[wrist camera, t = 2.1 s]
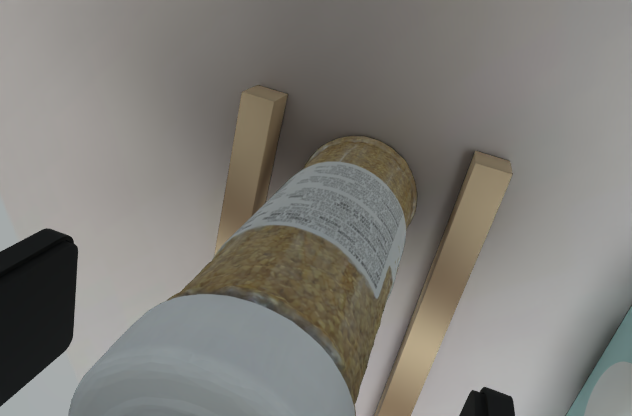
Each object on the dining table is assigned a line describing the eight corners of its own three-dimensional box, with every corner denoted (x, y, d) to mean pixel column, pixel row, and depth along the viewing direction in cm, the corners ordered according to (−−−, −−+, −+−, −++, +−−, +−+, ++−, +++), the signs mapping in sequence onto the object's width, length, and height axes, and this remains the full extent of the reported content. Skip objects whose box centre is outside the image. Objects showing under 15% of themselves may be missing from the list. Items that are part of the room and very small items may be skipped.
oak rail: (257, 85, 19) (223, 99, 17) (509, 161, 18) (516, 190, 15) (190, 461, 28) (160, 509, 26) (355, 532, 27) (342, 592, 24)
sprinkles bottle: (360, 265, 21) (208, 624, 9) (278, 186, 21) (10, 448, 9) (446, 194, 19) (398, 535, 7) (358, 104, 19) (149, 301, 7)
